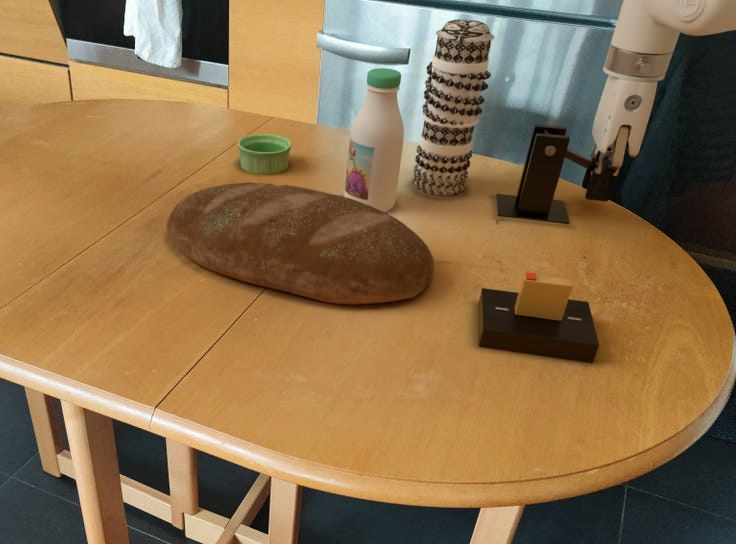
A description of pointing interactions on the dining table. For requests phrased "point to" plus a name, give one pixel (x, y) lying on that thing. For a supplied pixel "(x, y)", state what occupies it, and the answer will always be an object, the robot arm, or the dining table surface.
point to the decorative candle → (452, 106)
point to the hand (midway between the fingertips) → (594, 192)
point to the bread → (302, 243)
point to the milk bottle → (376, 143)
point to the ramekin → (264, 153)
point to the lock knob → (543, 296)
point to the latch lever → (577, 157)
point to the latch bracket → (539, 179)
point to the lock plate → (536, 329)
